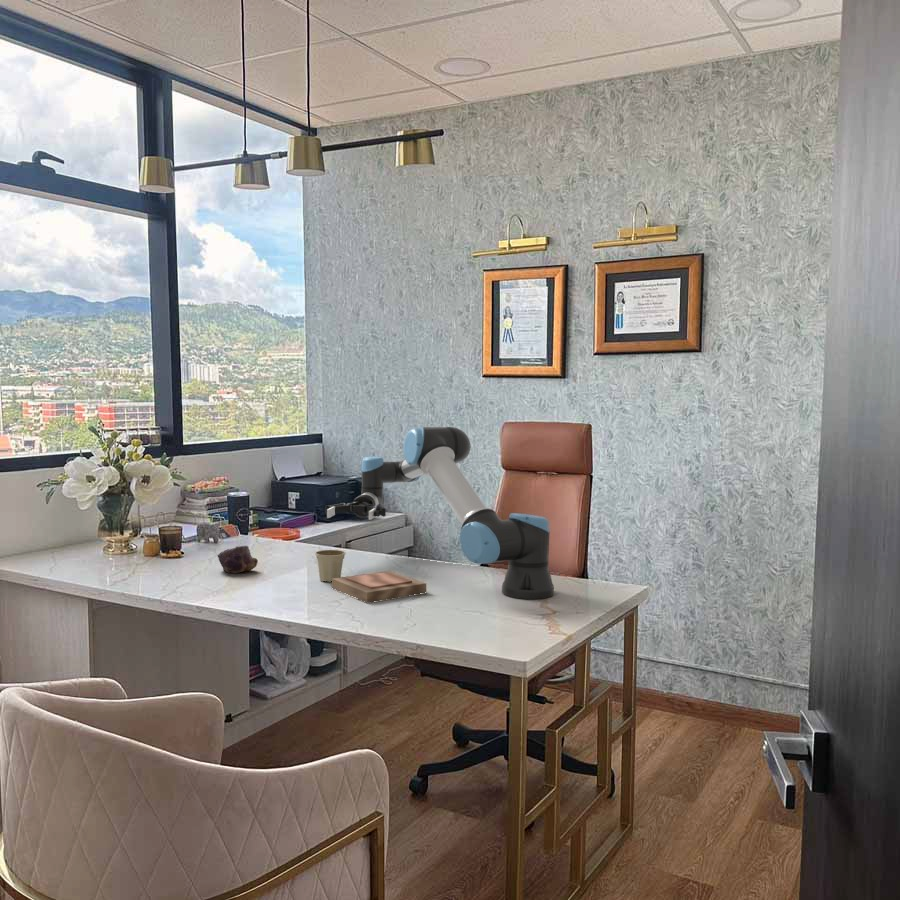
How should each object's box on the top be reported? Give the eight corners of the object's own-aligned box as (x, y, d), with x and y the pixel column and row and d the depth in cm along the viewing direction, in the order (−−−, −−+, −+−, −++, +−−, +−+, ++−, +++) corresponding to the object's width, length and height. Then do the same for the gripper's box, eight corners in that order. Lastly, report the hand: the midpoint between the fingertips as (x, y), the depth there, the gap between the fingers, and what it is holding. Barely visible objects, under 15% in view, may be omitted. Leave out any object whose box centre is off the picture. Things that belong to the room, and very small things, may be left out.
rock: (231, 571, 273) (212, 577, 264) (228, 545, 273) (208, 550, 264) (261, 569, 269) (242, 574, 260) (258, 542, 269) (239, 547, 260)
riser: (388, 580, 259) (389, 569, 258) (426, 593, 243) (426, 581, 243) (331, 588, 247) (331, 576, 247) (366, 603, 231) (367, 590, 231)
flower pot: (329, 575, 264) (329, 548, 264) (351, 579, 259) (352, 551, 258) (308, 580, 256) (308, 552, 256) (331, 585, 251) (331, 556, 251)
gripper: (400, 517, 285) (387, 528, 264) (329, 514, 289) (310, 524, 268) (401, 495, 284) (387, 504, 264) (330, 492, 288) (311, 501, 267)
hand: (348, 514), depth 266 cm, fingers open, 13 cm apart
